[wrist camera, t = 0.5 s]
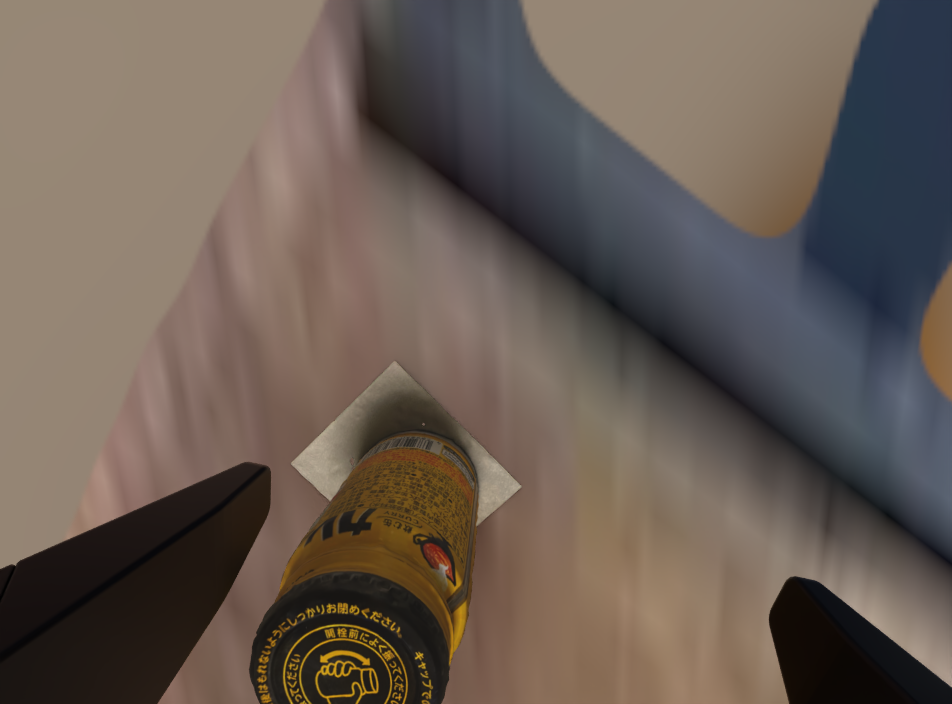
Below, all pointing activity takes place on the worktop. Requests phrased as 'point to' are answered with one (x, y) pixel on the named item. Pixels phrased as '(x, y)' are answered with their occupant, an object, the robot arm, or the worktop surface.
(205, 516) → the robot arm
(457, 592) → the condiment
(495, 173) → the worktop surface
